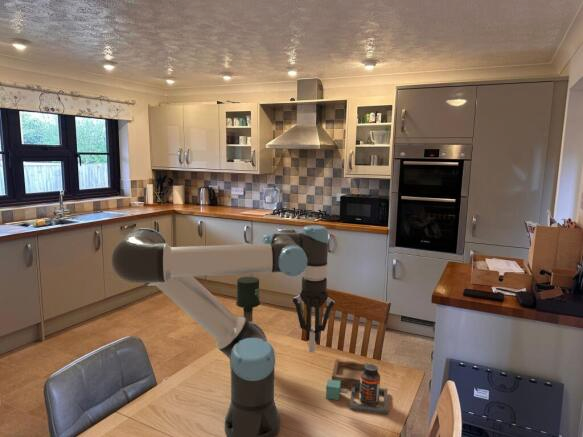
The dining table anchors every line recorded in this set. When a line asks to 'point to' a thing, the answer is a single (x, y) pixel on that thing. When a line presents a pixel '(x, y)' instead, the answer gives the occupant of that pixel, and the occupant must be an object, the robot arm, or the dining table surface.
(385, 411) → the socket collar
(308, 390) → the dining table surface
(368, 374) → the supplement bottle
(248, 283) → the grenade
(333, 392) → the pin
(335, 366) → the open box
